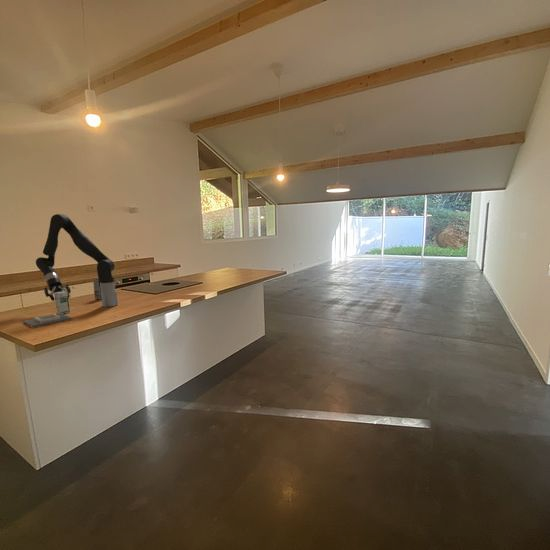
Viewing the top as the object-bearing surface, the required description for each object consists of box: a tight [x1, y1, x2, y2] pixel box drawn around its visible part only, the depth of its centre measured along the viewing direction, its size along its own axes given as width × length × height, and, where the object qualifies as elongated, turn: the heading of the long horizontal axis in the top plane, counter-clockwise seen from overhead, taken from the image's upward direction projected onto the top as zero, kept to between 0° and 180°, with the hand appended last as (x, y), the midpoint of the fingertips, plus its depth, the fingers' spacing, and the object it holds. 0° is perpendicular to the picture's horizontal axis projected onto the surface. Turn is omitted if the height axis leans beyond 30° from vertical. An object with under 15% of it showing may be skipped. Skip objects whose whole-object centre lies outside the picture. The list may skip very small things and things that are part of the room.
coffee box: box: [92, 278, 102, 301], centre depth 258 cm, size 9×6×16 cm
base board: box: [22, 313, 73, 328], centre depth 197 cm, size 20×18×3 cm
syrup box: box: [53, 290, 71, 315], centre depth 215 cm, size 6×6×14 cm
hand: (61, 299), depth 215 cm, fingers open, 8 cm apart
